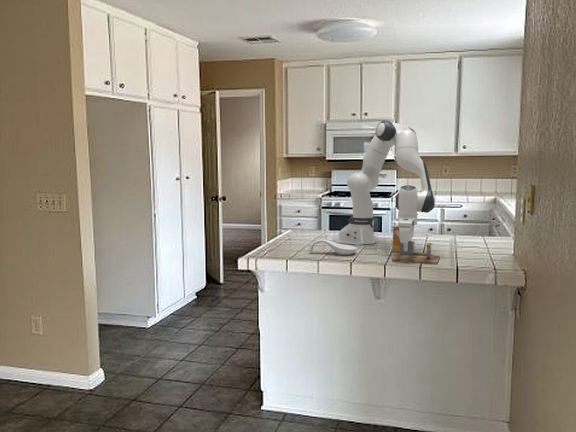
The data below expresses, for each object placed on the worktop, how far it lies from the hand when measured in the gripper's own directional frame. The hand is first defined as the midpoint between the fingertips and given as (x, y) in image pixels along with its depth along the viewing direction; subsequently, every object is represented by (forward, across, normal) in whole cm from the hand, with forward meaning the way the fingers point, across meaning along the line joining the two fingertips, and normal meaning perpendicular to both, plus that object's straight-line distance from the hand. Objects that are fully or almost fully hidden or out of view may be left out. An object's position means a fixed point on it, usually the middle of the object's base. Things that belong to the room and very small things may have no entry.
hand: (406, 249), depth 245 cm
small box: (+5, -19, -6) cm, 20 cm away
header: (+4, 0, +4) cm, 6 cm away
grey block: (+2, 0, 0) cm, 2 cm away
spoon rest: (+5, -1, -36) cm, 37 cm away
